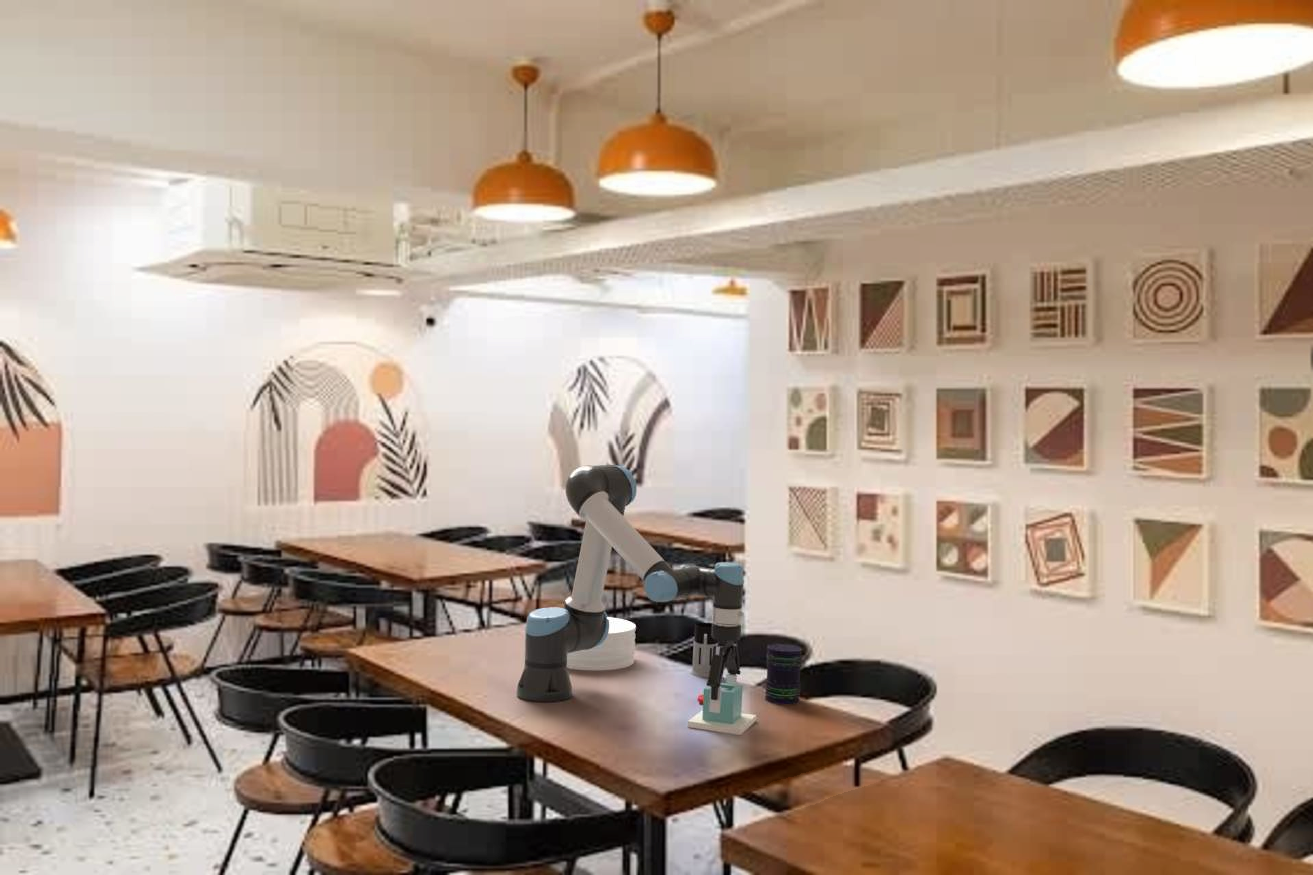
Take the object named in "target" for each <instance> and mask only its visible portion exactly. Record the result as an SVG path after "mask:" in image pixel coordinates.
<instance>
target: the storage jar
mask: <svg viewBox="0 0 1313 875" xmlns="http://www.w3.org/2000/svg"><path fill="white" fill-rule="evenodd" d="M802 651H803V648H802V647H801V646H799V645H797V644H793V643H792V644H789V643H771V644H768V645H767V651H766V653H767V654H766V667H767V669H766V670H767V671H766V679H765V687H764V690H765V691H764V692H765V696H764V700H765V701H766V702H769V703H771V704H774V705H775V704H776V705H786V706H790V705H796V704H799V703H800V697H801V696H800V695H801V694H800V693H801V681H800V678H801V669H802V662H803V660H802V659H803V657H802V654H803V653H802Z"/></svg>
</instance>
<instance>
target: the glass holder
mask: <svg viewBox="0 0 1313 875" xmlns="http://www.w3.org/2000/svg"><path fill="white" fill-rule="evenodd" d="M713 623H714V622H713ZM713 623H712V622H698V623H697V622H696V623H694V638H693V647H692V648H693V649H692V650H693V651H692V652H693V653H692V668H691V672H690V674H691V675H692V676H694V677H698V678H709V672H710V667H711V662H712V656H713V647H714V646H718V640H716V639H713V638H712V636H711V635H712V624H713Z"/></svg>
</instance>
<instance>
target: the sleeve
mask: <svg viewBox="0 0 1313 875" xmlns="http://www.w3.org/2000/svg"><path fill="white" fill-rule="evenodd" d="M720 687H721V688H728V689H730V691H728V690H721V706H720V713H715V712H709V703H710V686H707V685H706V686H705V687H704V688H703V694H702V695H703V704H702V710H703V717H702V720H707V721H714V722H720V723H727V724H733V723H734V722H736V721H737V720H738V719H739V718H740V717H741V713H742V712H743V711H742V710H743V709H742V707H743V706H742V705H743V685H739V684H736V685H733V684H726V682H725V683H724V682H721V684H720Z"/></svg>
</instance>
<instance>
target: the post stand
mask: <svg viewBox="0 0 1313 875" xmlns="http://www.w3.org/2000/svg"><path fill="white" fill-rule="evenodd" d="M721 690H728V691H730V689H728V688H721ZM702 717H703V709H702V710H700V711H699V712H698V713H697V714H695V715H694V716H693V717H691V718H690V719H689V720H688V721H687V728H690V729H691V728H692V729H697V730H698V729H699V730H703V731H705V730H706V731H711V732H717V733H723V734H731V735H738V736H741V735H743V734H744V733H745V732H746V731H747V730H748V729H749V728H750V727H751V726H752V725H753V724H754V723H755V722H756V721H757V715H756V714H751V713H750V714H749V713H743V712H741V717H740V718H739V719H738V720H737V721H736V722H734V723H733V724H727V723H720V722H714V721H707V720H702Z"/></svg>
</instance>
